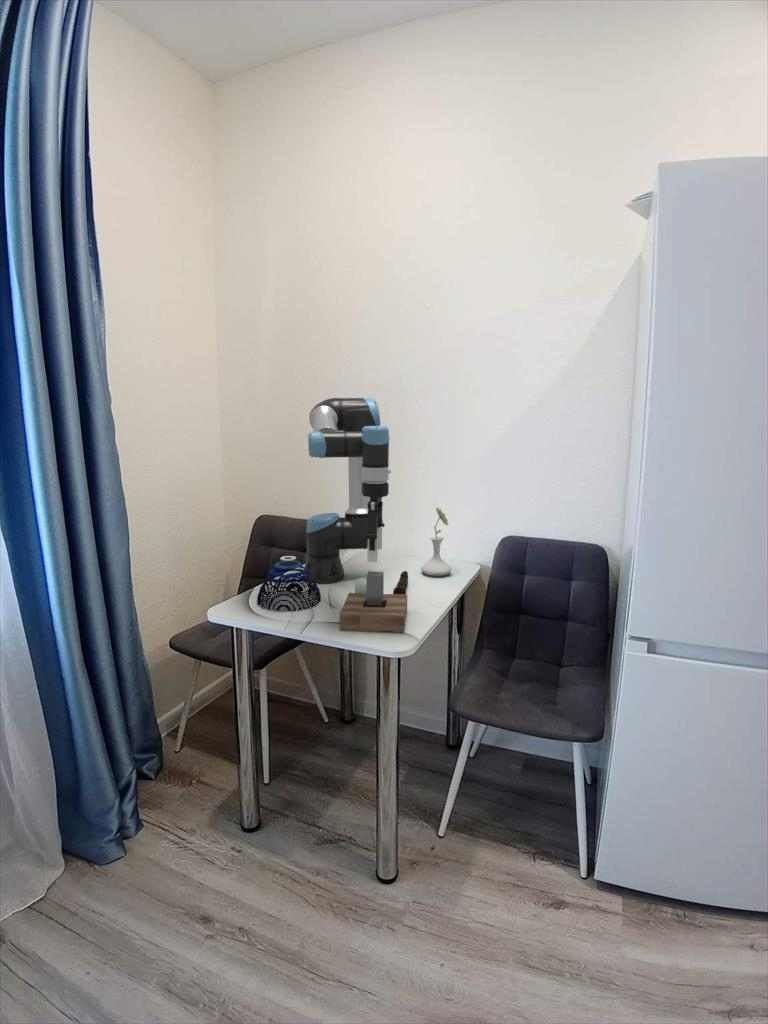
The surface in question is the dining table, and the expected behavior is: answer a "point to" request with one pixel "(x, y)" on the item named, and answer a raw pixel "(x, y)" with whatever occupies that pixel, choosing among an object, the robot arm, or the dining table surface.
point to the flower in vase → (437, 554)
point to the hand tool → (402, 584)
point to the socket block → (374, 613)
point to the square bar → (374, 589)
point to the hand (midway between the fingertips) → (375, 555)
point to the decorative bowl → (289, 586)
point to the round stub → (360, 585)
